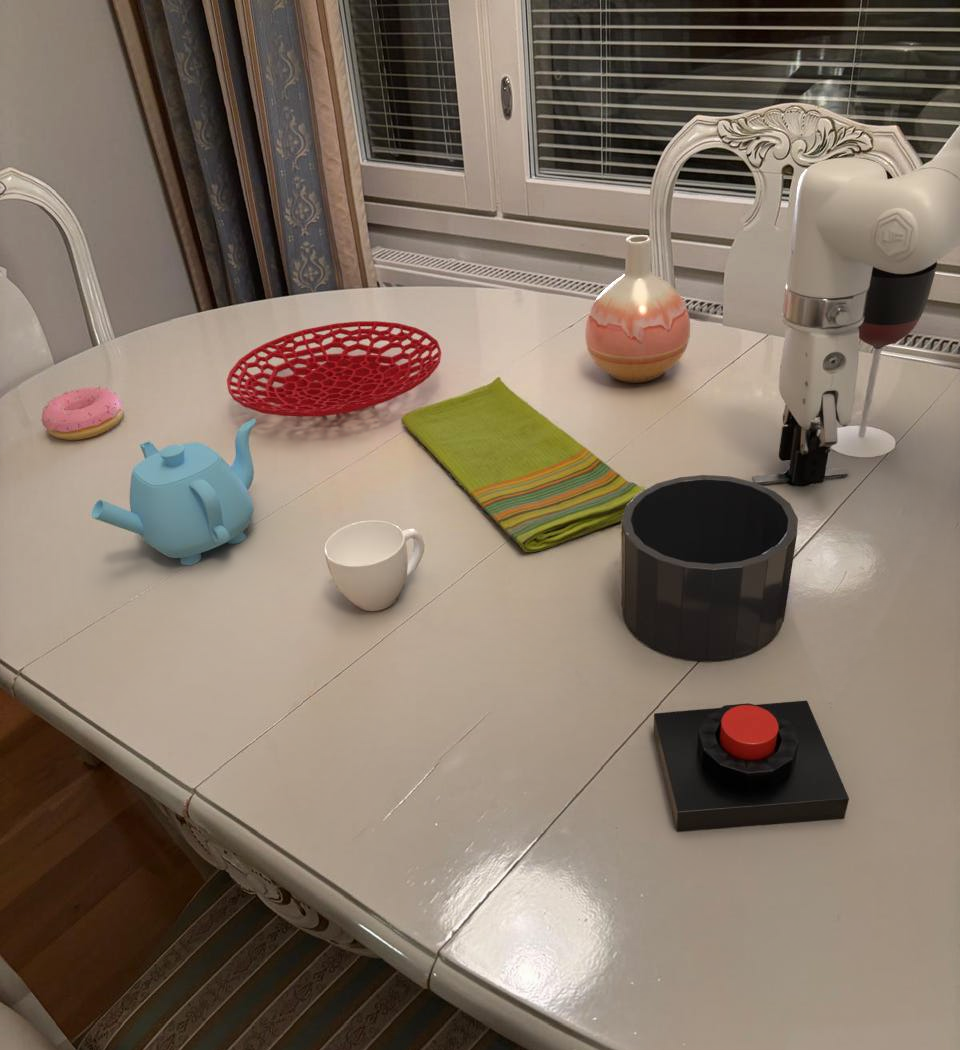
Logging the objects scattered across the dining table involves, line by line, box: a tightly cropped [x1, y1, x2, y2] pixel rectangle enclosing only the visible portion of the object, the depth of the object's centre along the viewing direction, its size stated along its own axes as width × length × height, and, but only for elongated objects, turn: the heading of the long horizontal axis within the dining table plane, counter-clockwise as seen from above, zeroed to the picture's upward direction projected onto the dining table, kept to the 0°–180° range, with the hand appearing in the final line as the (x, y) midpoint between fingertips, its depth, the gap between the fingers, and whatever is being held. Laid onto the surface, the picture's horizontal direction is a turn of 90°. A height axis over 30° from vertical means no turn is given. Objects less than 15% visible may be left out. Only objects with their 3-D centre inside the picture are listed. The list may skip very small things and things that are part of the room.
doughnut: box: [40, 386, 124, 441], centre depth 127 cm, size 11×11×4 cm
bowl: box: [226, 320, 442, 418], centre depth 126 cm, size 29×29×5 cm
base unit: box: [652, 700, 850, 832], centre depth 68 cm, size 12×10×4 cm
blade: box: [751, 423, 849, 488], centre depth 98 cm, size 10×3×6 cm, turn 91°
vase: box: [584, 234, 691, 384], centre depth 119 cm, size 14×14×18 cm
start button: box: [720, 705, 779, 760], centre depth 67 cm, size 4×4×2 cm
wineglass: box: [831, 261, 938, 458], centre depth 99 cm, size 8×9×20 cm
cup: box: [323, 519, 425, 612], centre depth 89 cm, size 8×10×7 cm
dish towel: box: [400, 376, 646, 553], centre depth 107 cm, size 15×36×3 cm, turn 25°
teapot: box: [91, 418, 257, 566], centre depth 99 cm, size 15×14×11 cm
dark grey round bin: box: [620, 474, 799, 663], centre depth 82 cm, size 15×15×10 cm
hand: (800, 469), depth 99 cm, fingers open, 4 cm apart
